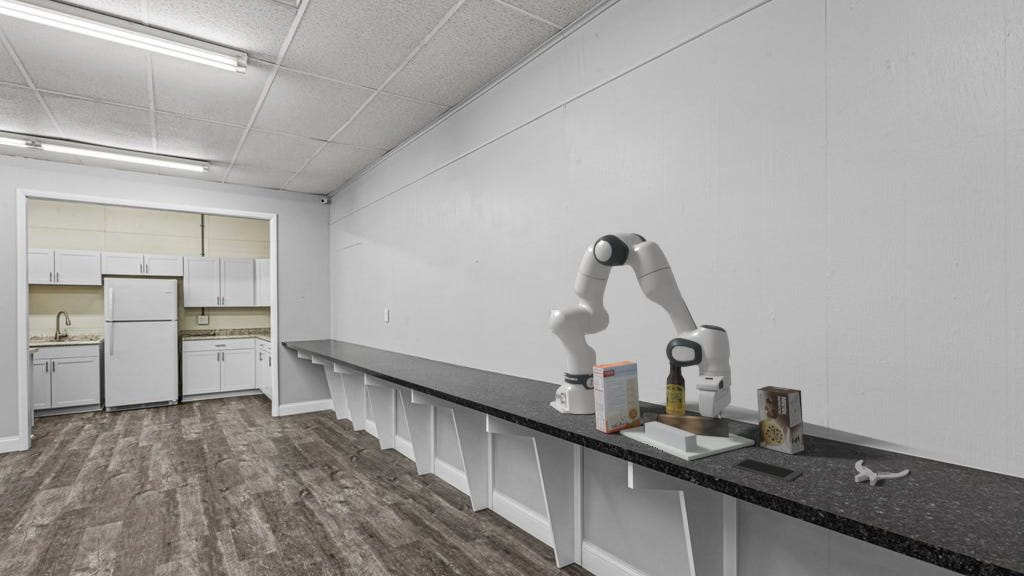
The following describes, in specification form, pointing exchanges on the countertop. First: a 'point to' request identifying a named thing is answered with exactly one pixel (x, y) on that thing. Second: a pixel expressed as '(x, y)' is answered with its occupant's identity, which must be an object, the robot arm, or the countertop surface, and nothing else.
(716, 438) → the press board
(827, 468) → the countertop surface
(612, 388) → the cracker box
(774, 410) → the coffee box
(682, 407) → the sauce bottle
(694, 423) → the lever
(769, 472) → the cell phone
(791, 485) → the countertop surface
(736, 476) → the countertop surface
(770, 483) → the countertop surface
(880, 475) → the pliers
